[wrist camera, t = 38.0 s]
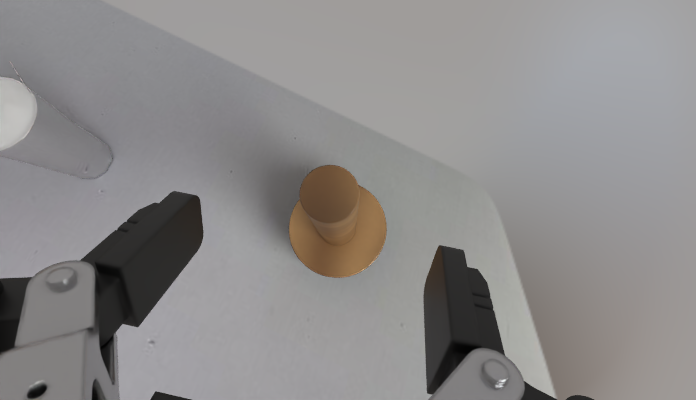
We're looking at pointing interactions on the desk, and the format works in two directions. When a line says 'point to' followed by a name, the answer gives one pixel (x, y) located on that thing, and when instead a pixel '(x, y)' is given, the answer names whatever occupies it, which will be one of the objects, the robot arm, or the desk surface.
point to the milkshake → (46, 135)
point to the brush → (336, 224)
